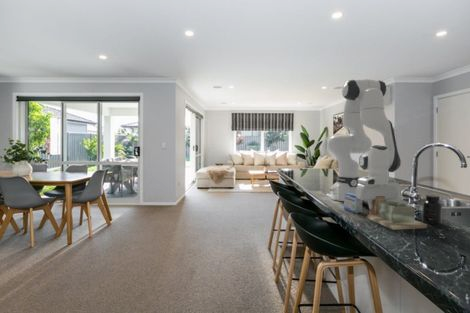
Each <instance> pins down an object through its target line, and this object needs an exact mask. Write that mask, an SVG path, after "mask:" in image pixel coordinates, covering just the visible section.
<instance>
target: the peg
mask: <svg viewBox="0 0 470 313" xmlns="http://www.w3.org/2000/svg"><path fill="white" fill-rule="evenodd" d="M371 203H372V205H374V209H370V208H369V212H368V213H369V214H368V215H378V213H379V203H385V196H376V199H375V200H372V202H371Z"/></svg>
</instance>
